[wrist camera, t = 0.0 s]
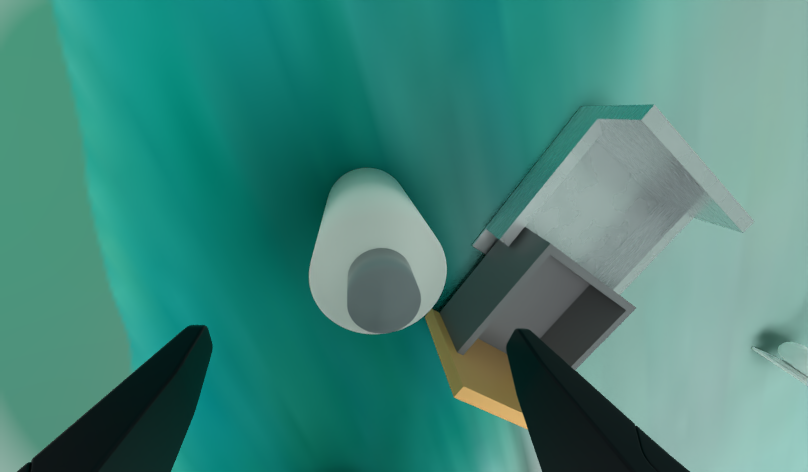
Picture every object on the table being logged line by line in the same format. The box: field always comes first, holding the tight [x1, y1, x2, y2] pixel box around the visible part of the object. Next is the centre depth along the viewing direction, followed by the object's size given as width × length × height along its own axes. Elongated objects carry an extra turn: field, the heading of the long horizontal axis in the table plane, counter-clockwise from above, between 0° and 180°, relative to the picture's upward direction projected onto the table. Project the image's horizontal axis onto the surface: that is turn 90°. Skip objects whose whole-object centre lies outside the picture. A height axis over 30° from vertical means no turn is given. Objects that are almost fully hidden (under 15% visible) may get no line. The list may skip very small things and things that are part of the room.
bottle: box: [309, 168, 447, 334], centre depth 18 cm, size 6×6×13 cm
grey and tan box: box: [425, 227, 636, 429], centre depth 25 cm, size 11×12×8 cm
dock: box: [472, 105, 754, 295], centre depth 24 cm, size 13×13×6 cm
